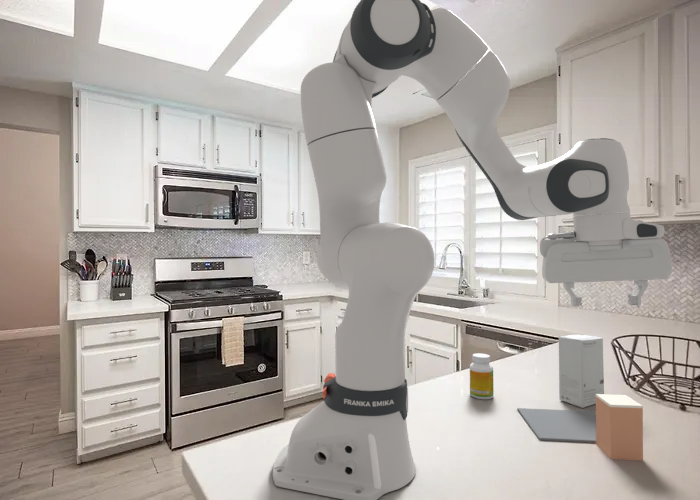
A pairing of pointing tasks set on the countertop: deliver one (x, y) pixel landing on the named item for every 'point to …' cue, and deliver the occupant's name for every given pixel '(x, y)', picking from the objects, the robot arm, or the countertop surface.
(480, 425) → the countertop surface
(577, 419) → the mat
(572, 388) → the skincare box
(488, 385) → the supplement bottle
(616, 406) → the block
